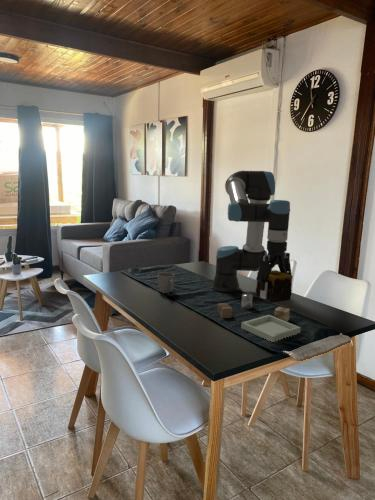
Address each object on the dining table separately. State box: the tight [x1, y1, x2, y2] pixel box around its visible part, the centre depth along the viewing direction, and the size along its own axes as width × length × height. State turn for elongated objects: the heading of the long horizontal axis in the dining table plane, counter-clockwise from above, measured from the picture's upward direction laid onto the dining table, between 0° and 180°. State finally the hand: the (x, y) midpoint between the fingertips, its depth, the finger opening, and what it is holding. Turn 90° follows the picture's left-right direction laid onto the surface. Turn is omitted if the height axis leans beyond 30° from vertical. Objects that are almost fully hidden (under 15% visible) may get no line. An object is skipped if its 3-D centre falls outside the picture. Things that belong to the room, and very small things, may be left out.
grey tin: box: [240, 293, 254, 310], centre depth 175 cm, size 5×5×6 cm
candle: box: [255, 269, 293, 304], centre depth 145 cm, size 10×10×10 cm
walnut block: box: [217, 302, 233, 319], centre depth 164 cm, size 7×4×4 cm, turn 13°
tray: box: [240, 314, 301, 343], centre depth 149 cm, size 16×16×2 cm
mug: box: [157, 271, 175, 294], centre depth 193 cm, size 12×9×10 cm
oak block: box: [273, 306, 291, 322], centre depth 160 cm, size 5×5×5 cm
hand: (273, 295), depth 146 cm, fingers closed on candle, 11 cm apart
